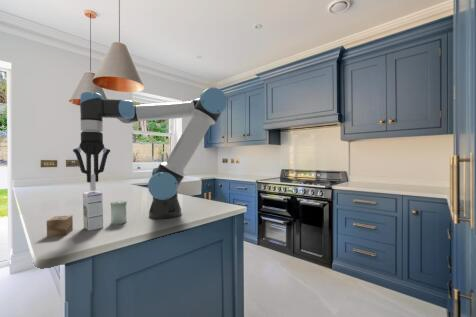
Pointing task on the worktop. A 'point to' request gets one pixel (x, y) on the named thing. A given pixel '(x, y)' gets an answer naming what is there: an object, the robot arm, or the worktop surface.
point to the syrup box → (93, 210)
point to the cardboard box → (59, 226)
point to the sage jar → (118, 212)
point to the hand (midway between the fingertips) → (92, 190)
